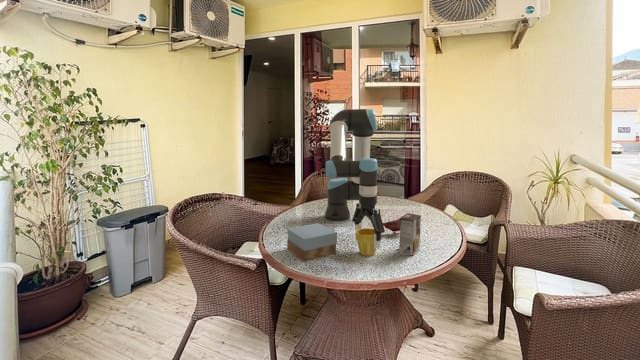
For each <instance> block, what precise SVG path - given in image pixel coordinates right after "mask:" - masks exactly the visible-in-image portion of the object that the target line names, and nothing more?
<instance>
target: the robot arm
mask: <svg viewBox="0 0 640 360" xmlns="http://www.w3.org/2000/svg"><path fill="white" fill-rule="evenodd" d="M376 118H377V117H376V111H374V109H372V108H371V109H369V108H355V109H354V108H353V109H352V108H351V109H348V108H345V109H341V110H340V111H338V112H337V113H336V114H335V115H334V116H333V117H332V118H331V120H330V122H329V127H328V130H329V133H330V151H329V152H330V157H329V160H327V161H325V176H326V177H327V178H333V179H330V180H328V182H327V187H326V189H327V205H326V209H325V212H324V218H325V219H326V220H327V221H337V222H340V221H341V222H342V221H347V220H349V219H350V218H351V213H350V209H349V207H348V201H358V203H356V204H355V210H354V213H353V216H352V219H351V221H352V222H353V223H354V225H355V228H354V229H355V232H356V230H358V229H362V221H363V220H364V218H365V217H367V218H368V219H369V220H370V223H371V225H372V229H374V230H375V233H374V248H376V249H379V248H381V240H382V238H381V237H382V234H383V233H385V226H383V223H384V222H383V219H382V215H381V209H380V208H376V205H377V204H378V196H377V195H378V168H379V165H378V160H377V159H376V158H372V157H371V140H372V137H373V136H374V134H375V132H377V131H378V130H377V127H378V126H377V119H376ZM348 132H351V136H353V137H354V151H353V152H354V154H353V155H354V156H353V157H354V158H353V160H347V133H348ZM348 178H350V180H348ZM355 240H356V236H355Z"/></svg>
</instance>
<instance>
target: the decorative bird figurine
mask: <svg viewBox="0 0 640 360" xmlns="http://www.w3.org/2000/svg"><path fill="white" fill-rule="evenodd" d="M403 216H404V215H403ZM403 216H401V217H403ZM401 217H399V218H398V219H394V220H388V221H386V222H382V223H383V226H384V228H385V229H387V230H390V231H391V234H392V235H400V218H401Z"/></svg>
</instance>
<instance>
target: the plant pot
mask: <svg viewBox="0 0 640 360" xmlns="http://www.w3.org/2000/svg"><path fill="white" fill-rule="evenodd" d="M374 233H375V230H374V228H365V227H363V228H361V229H358V230H356V231H355V234H354V235H355V237H356V239H355V240H356V241H357V245H358V250H359V254H360V255H362V256H366V257H368V256H369V257H370V256H374V255H375V254H376V250H377V248H374Z"/></svg>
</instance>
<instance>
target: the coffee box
mask: <svg viewBox="0 0 640 360" xmlns="http://www.w3.org/2000/svg"><path fill="white" fill-rule="evenodd" d="M421 217H422V216H421V215H420V214H415V213H409V212H407V213H405V214H404V215H403V217H402V216H400V217H399V218H400V231H399V233H400V234H399V244H398V245H399V247H398V249H399V250H398V253H399V254H400V253H402V254H401V255H405V254H407V255H406V256H409V255H413V256H415V255H416V254H417V253H418V252H419V251H418V250H419V249H420V248H421V243H420V242H421V222H422V221H421V220H422V219H421ZM417 251H418V252H417ZM416 252H417V253H416Z"/></svg>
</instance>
